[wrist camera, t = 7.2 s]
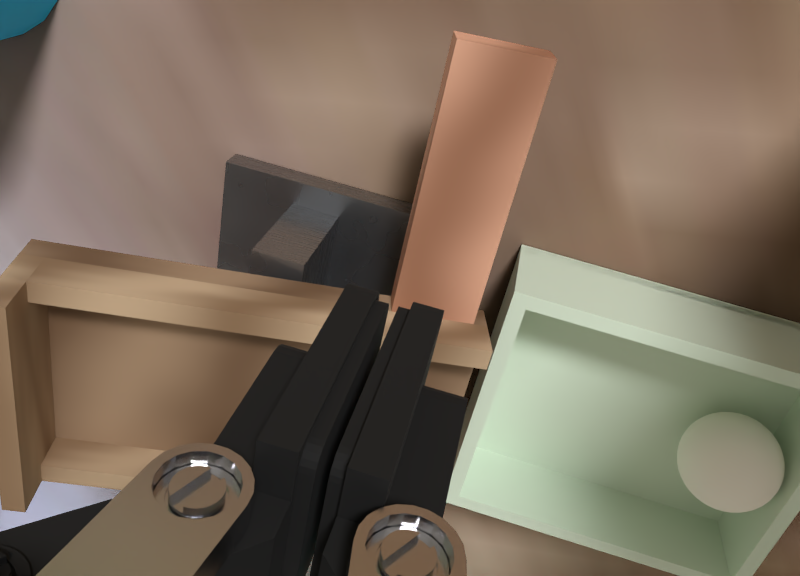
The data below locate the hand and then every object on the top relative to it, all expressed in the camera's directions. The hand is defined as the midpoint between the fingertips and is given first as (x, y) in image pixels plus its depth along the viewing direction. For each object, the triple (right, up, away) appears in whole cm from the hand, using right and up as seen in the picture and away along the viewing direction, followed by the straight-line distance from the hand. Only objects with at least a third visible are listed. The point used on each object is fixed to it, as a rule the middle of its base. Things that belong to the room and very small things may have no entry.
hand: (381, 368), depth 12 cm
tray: (+10, -3, +20) cm, 23 cm away
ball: (+14, -6, +17) cm, 23 cm away
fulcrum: (-4, +1, +21) cm, 21 cm away
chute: (-4, +2, +13) cm, 14 cm away
